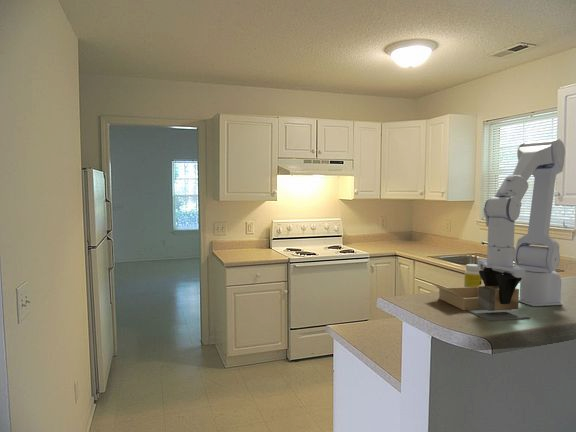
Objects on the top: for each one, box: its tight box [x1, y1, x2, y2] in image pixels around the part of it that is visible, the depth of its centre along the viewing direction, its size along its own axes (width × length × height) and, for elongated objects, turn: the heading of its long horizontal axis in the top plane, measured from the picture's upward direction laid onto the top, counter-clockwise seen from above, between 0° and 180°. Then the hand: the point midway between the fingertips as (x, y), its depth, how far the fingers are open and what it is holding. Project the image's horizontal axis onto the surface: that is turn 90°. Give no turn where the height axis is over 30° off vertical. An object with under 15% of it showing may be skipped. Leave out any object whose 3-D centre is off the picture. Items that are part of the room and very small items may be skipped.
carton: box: [430, 282, 485, 311], centre depth 112 cm, size 18×12×5 cm, turn 100°
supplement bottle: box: [463, 263, 483, 287], centre depth 124 cm, size 5×5×8 cm
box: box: [478, 286, 520, 311], centre depth 101 cm, size 8×4×5 cm, turn 100°
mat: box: [467, 309, 531, 322], centre depth 101 cm, size 11×8×1 cm
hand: (498, 301), depth 101 cm, fingers closed on box, 4 cm apart
